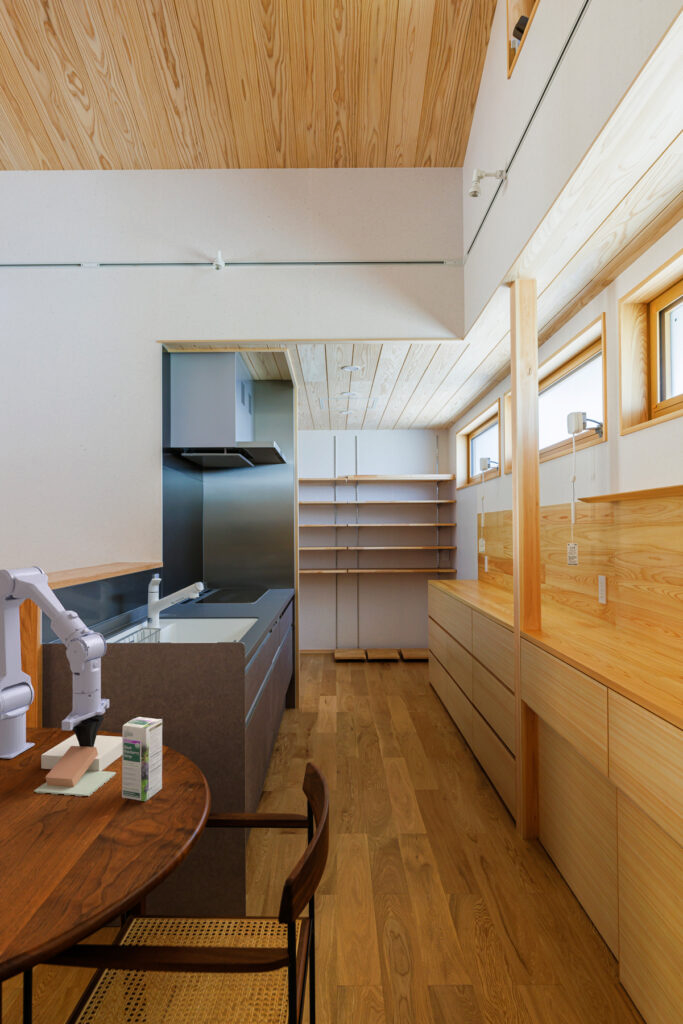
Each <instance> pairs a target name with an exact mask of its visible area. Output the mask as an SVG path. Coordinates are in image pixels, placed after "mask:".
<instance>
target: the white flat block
mask: <svg viewBox="0 0 683 1024" xmlns="http://www.w3.org/2000/svg"><path fill="white" fill-rule="evenodd" d="M71 746H79V742H78V739H77V737H76V735H75V733H74V734H73V735H71V736H70V737H68V738H66V739H65V740H63V741H61V742H60V743H59V744H57V745H55V746H54V747H52V748H51V749H48V750H47V751H46V752H44V753H42V754H41V757H40V760H41V761H40V765H41V767H40V769H44V770H52V768H53V767H54V766H55V765H56V764H57V762H58V761H59V760H60V759H61V758H62V756H63V755H64V754H65V753H66V752H67V750H68V749H69V748H70V747H71ZM94 747H96V748H97V752H98V756H97V757H96V758H95V760H94V761H93V762H92V764H91V765H90V766H89V768H88V769H87V770H93V771H104V770H105V769H106V768H108V767H109V766H110V765H111V764H112V763H114V762H115V761H116V760H118V759H119V758H120V757H122V736H112V735H100V734H99V735H98V734H97V735H96V739H95V743H94Z"/></svg>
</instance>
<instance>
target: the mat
mask: <svg viewBox="0 0 683 1024" xmlns="http://www.w3.org/2000/svg"><path fill="white" fill-rule="evenodd" d="M115 774H116V775H117V772H116V771H105V770H102V771H93V770H86V772H85V773H84V774H83V775H82V777H81V778H80V779H79V781H78V782H77V783H76V785H75V786H74V787H69V786H56V785H47V781H46V782H45V783H42V784H41V785H40V786H38V787H37V788H36V789H34V790H33V793H34V792H36V794H45V793H51V794H50V795H58V794H64V795H63V796H70V795H75V796H74V797H82V796H89V797H90V796H91V795H93V794H94V793H95V792H96V791H97V790H98V788H99V787H100V788H101V787H103V786H104V785H105V784H106V783H107V782H108V781H109V780H111V779H112V778H113V777H114V776H116V775H115ZM110 778H111V779H110ZM104 783H105V784H104ZM100 788H99V789H100ZM93 792H94V793H93Z"/></svg>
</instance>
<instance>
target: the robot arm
mask: <svg viewBox="0 0 683 1024" xmlns="http://www.w3.org/2000/svg"><path fill="white" fill-rule="evenodd" d="M48 583H49V576H48V575H47V574H46V573H45V572H44V570H43V569H42V568H41V567H40V566H37V565H36V566H35V565H33V566H30V567H20V568H10V569H6V568H5V569H4V568H3V569H0V759H13V758H15V757H17V756H18V755H20V754H21V753H24V752H25V751H27V750H29V749H30V748H32V747H34V746H35V743H34V742H27V715H26V714H27V711H29V708H30V706H31V705H32V703H33V702H34V699H35V690H34V687H33V685H32V678H31V675H28V674H27V673H25V672H24V671H22V650H21V645H22V644H21V629H20V628H21V626H20V625H21V622H20V606H21V605H22V604H23V603H24V602H25V601H26V600H27V599H28V600H31V601H32V602H33V603H34V604H35V605H36V606H37V607H38V608H39V609H40V610H41V611H42V612H43V613H44V614H45V615H46V616H47V617H48V618H49V619H50V620H51V623H50V629H51V630H52V632H54V634H55V635H56V636H57V637H58V638H59V639H60V641H61V642H62V644H63V645H65V647H66V650H65V654H66V657H67V659H68V662H69V670H70V671H71V672H72V710H71V711H70V713H69V714H68V715H67V716H66V717H65V719H63V720H61V731H69V732H70V731H72V732H74V734H75V735H76V737H77V739H78V742H79V746H83V747H94V743H95V739H96V735H98V732H99V729H100V727H101V725H102V723H103V721H104V715H103V714H105V712H106V709H109V708H110V699H109V698H101V697H102V695H101V694H102V693H101V692H102V681H101V680H102V679H101V678H102V670H101V668H102V662H101V661H102V658H103V657H104V656H105V655H106V652H107V649H108V646H107V641H106V639H105V637H104V636H103V634H101V633H100V632H95V631H94V630H93V629H89V627H87V625H86V624H85V623H84V622H83V621H82V619H81V618H80V617H79V614H78V613H77V612H75V611H73V610H66V609H65V608H64V606H63V605H62V603H61V602H60V600H59V599H58V598H57V596H56V595H55V592H54V591H53V590H52V589H51V588H50V586H49V584H48Z"/></svg>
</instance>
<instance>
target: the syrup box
mask: <svg viewBox="0 0 683 1024" xmlns="http://www.w3.org/2000/svg"><path fill="white" fill-rule="evenodd" d="M121 734H122V736H121V737H122V755H121V757H122V759H121V763H122V767H121V768H122V769H121V770H122V771H121V773H122V776H121V777H122V779H121V782H122V785H121V797H122V799H129V800H135V801H141V802H144V803H145V802H147V801H148V800H150V798H152V797H153V796H155V795H156V794H158V793H159V791H161V790H162V789H163V718H152V717H142V716H138V717H136V718H135V717H134V718H132V719H131V720H129V721H127V722H126V723H124V724H123V725H122V733H121Z"/></svg>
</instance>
